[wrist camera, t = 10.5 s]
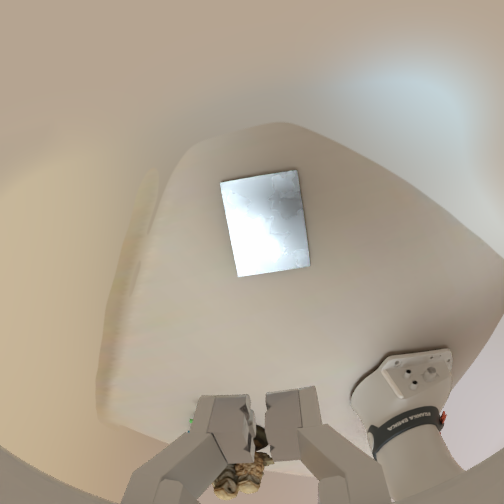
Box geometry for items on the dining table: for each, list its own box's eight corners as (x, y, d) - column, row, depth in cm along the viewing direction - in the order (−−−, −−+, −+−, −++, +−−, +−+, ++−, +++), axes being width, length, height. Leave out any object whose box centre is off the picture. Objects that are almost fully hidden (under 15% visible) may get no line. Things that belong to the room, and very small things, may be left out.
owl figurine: (279, 422, 49) (280, 491, 32) (269, 450, 52) (268, 510, 36) (191, 411, 49) (172, 477, 33) (192, 440, 52) (177, 498, 36)
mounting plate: (295, 170, 35) (296, 169, 34) (309, 263, 39) (310, 266, 38) (221, 182, 36) (219, 182, 35) (239, 273, 40) (238, 276, 39)
